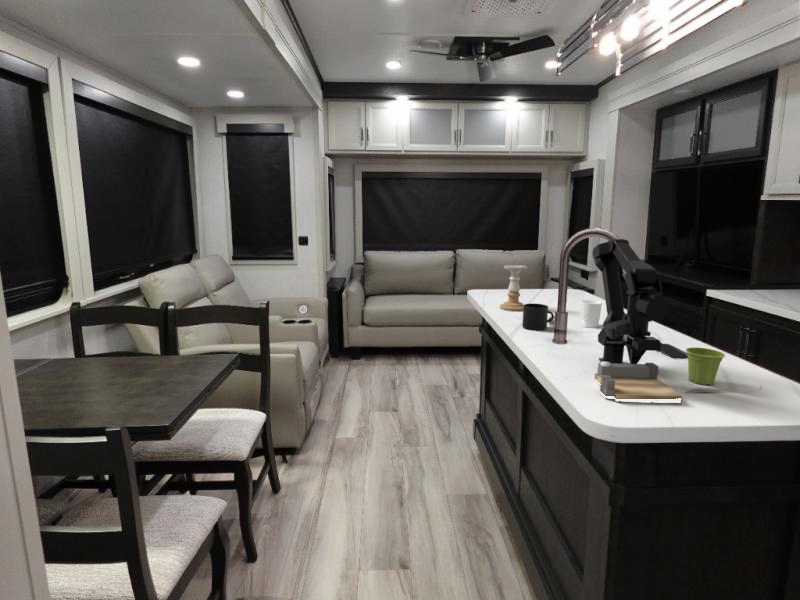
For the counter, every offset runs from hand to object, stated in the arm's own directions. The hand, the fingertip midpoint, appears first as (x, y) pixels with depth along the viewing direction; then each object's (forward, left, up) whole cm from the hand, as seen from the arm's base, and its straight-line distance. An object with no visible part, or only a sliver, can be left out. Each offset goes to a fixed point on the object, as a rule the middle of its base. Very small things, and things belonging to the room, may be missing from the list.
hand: (632, 366), depth 143 cm
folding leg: (+5, -3, -1) cm, 6 cm away
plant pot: (+2, +19, -4) cm, 19 cm away
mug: (-57, -13, -4) cm, 59 cm away
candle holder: (-94, -16, -4) cm, 96 cm away
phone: (-27, +24, -4) cm, 36 cm away
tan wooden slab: (+11, -3, -4) cm, 12 cm away
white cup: (-62, +9, -4) cm, 63 cm away
